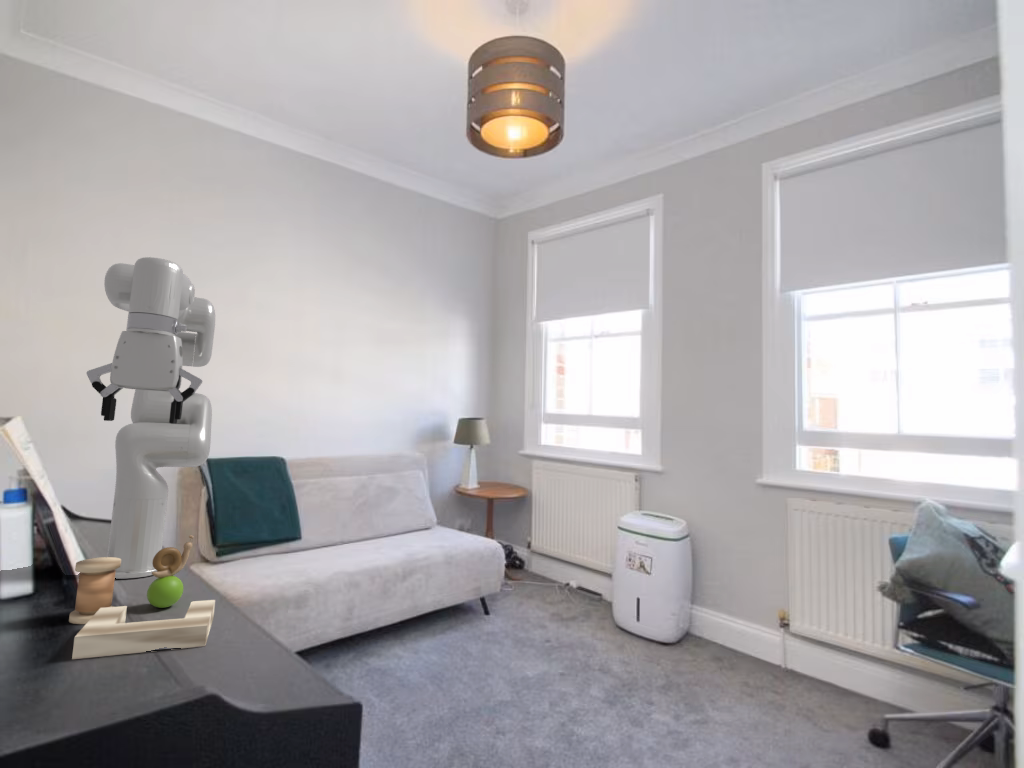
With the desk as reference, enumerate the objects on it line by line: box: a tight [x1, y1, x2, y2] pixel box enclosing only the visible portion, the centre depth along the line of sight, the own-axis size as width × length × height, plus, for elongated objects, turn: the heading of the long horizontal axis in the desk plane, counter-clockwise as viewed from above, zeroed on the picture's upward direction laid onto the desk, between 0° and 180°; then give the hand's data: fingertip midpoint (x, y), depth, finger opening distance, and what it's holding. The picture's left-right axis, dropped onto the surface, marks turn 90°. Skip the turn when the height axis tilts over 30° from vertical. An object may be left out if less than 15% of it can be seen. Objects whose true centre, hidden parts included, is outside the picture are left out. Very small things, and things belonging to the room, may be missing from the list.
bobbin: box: [68, 556, 121, 625], centre depth 88 cm, size 6×6×9 cm
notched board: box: [71, 599, 216, 660], centre depth 82 cm, size 12×16×3 cm
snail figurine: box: [146, 534, 195, 609], centre depth 95 cm, size 5×6×12 cm
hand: (141, 422), depth 94 cm, fingers open, 9 cm apart
